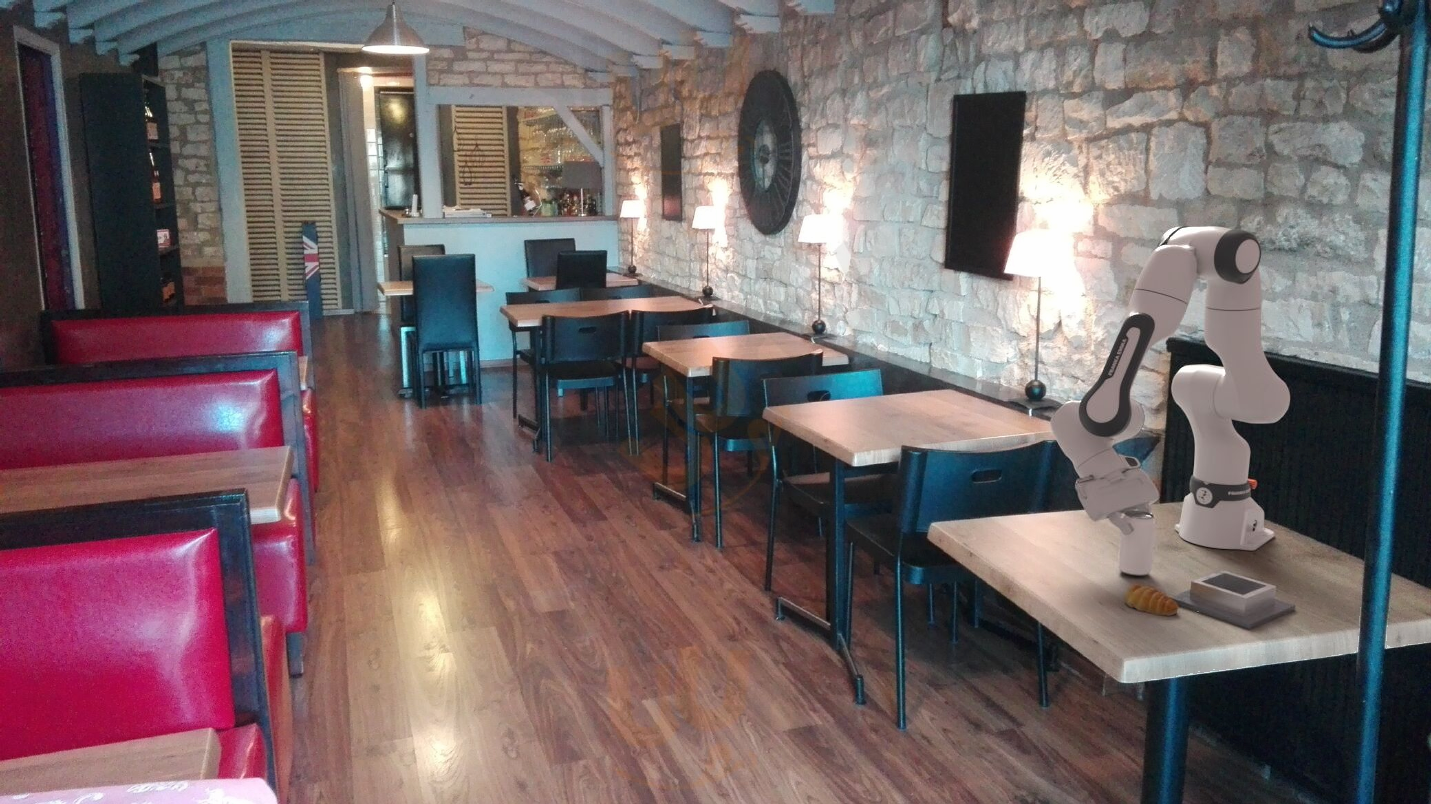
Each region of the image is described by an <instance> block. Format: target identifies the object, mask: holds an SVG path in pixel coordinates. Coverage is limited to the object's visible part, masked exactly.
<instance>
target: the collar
mask: <svg viewBox="0 0 1431 804" xmlns="http://www.w3.org/2000/svg"><path fill="white" fill-rule="evenodd" d="M1276 595H1277V586H1276V585H1273V584H1271V583H1268V582H1267V583H1266V582H1263V581H1261V580H1260V581H1259V580H1257V579H1254V578H1250V577H1246V576H1243V575H1241V574H1236V573H1233V572H1230V571H1227V570H1223V569H1221V570H1219V571H1215V572H1212V573H1210V574H1207V575H1204V576H1202V577H1199V578H1196V579H1193V580H1191V581H1190V588H1189V589H1188V590H1185V591H1182V592H1180V593H1177V594H1175V595H1171V596H1169V597H1170V598H1172V599H1173V601H1175V602H1176V603H1177V605H1178V606H1179V605H1180V607H1182V608H1184V607H1185V609H1187V608H1188V610H1190V609H1192V610H1191V611H1193V610H1194V612H1196V611H1199V612H1201V613H1200V614H1202V613H1204V614H1203V615H1205V614H1206V616H1208V615H1209V616H1208V617H1211V616H1212V618H1214V619H1217V620H1220V621H1223V622H1226V623H1229V624H1232V625H1235V626H1238V627H1242V628H1244V629H1247V630H1252V629H1255V628H1257V627H1259V626H1261V624H1262V625H1263V624H1266V623H1268V622H1270V620H1271V621H1273V620H1276V619H1277V618H1280V617H1282V615H1283V616H1284V614H1285V613H1287V614H1289V613H1288V612H1290V611H1292V612H1294V611H1295V610H1296V605H1295V604H1292V603H1289V602H1286V601H1283V600H1280V599H1277V598H1276ZM1293 610H1294V611H1293ZM1199 612H1198V613H1199ZM1290 613H1291V612H1290ZM1285 615H1286V614H1285ZM1275 618H1276V619H1275Z"/></svg>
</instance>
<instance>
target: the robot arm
mask: <svg viewBox="0 0 1431 804" xmlns="http://www.w3.org/2000/svg"><path fill="white" fill-rule="evenodd" d="M1261 258H1262V249H1261V244H1260V243H1259V240H1258V238H1257V237H1256V236H1255V234H1254V233H1252V232H1249V231H1247V230H1244V229H1240V228H1229V227H1222V226H1216V225H1215V226H1214V225H1206V226H1189V225H1181V226H1175V227H1172V228H1170V229H1168V230H1167V231H1166V232H1165V233H1163V235H1162V236H1161V238H1159V241H1158V243H1157V245H1156V248H1155V249H1154V250H1153V251H1152V252H1151V254H1150V255H1149V257H1148V259H1147V260H1146V262H1145V263H1144V266H1143V268H1142V270H1141V271H1140V274H1139V275H1138V278H1137V281H1136V282H1135V286H1134V288H1133V290H1132V292H1131V293H1132V294H1131V297H1130V299H1129V303H1128V306H1127V308H1126V312H1125V316H1124V319H1123V321H1122V324H1121V327H1120V330H1119V331H1118V334H1117V337H1116V338H1115V341H1114V344H1113V345H1112V348H1111V349H1110V350H1111V351H1110V352H1109V355H1108V357H1107V359H1106V362H1105V364H1104V366H1103V369H1102V371H1101V373H1100V375H1099V378H1098V379H1097V381H1096V382H1095V383H1094V384H1093V385H1092V387H1090V388H1089V390H1087V392H1086V393H1085V394H1084V396H1083V397H1082V399H1080V400H1075V399H1072V400H1069V401H1067V402H1065V403H1063V404H1062V405H1061V406H1059V407H1058V408H1057V409H1056V410H1055V411H1054V413H1053V414H1052V416H1051V418H1050V420H1049V426H1050V430H1051V432H1052V435H1053V437H1054V438H1055V441H1056V442H1057V443H1058V446H1059V447H1060V449H1061V451H1062V452H1063V453H1064V455H1065V456H1066V457H1067V458H1069V460H1070V461H1071V462H1072V464H1073V467H1074V469H1075V472H1076V473H1077V475H1078V476H1079V478H1077V479H1076V480H1075V486H1074V488H1075V490H1076V492H1077V497H1078V499H1079V501H1080V503H1081V506H1082V507H1083V509H1084V511H1085V513H1086V514H1087V516H1088V518H1089V519H1091V520H1092V521H1093V522H1094V523H1095V522H1096V523H1097V522H1099V521H1102V520H1107V519H1108V520H1109V522H1110V524H1112V525H1113V526H1115V527H1117V528H1118V529H1119V530H1120V532H1121V531H1122V533H1123V534H1124V535H1127V534H1130V533H1131V532H1133V531H1134V528H1133V527H1132V526H1131V524H1130V523H1127V522H1126V521H1124V520H1123V517H1122V515H1124V514H1125V512H1126V511H1131V510H1137V511H1145V512H1149V513H1151V514H1153V512H1152V507H1151V506H1152V505H1153V504H1154V503H1155V502H1157V501H1158V500H1159V499H1160V493H1159V490H1158V489H1157V487H1156V486H1155V484H1154V482H1153V481H1152V480H1151V477H1149V475H1148V474H1147V472H1145V471H1144V470H1143V469H1142V468H1140V467H1141V463H1140V461H1139V459H1138V458H1136V457H1133V456H1127V455H1124V454H1121V453H1117V452H1116V450H1115V449H1114V448H1113V446H1114V445H1117V444H1120V443H1122V442H1124V441H1127V440H1130V439H1132V438H1133V437H1135V436H1137V435H1138V434H1139V433H1140V431H1141V430H1142V428H1144V427H1143V426H1144V424H1145V420H1146V418H1145V417H1146V415H1145V411H1144V408H1143V407H1142V405H1141V404H1140V403H1139V402H1138V400H1136V399H1134V398H1133V397H1131V390H1132V388H1133V385H1134V383H1135V380H1136V377H1137V375H1138V373H1139V371H1140V368H1141V365H1143V364H1142V363H1143V361H1144V359H1145V357H1146V355H1147V354H1148V353H1149V350H1151V348H1153V347H1154V346H1155V345H1156V344H1158V343H1160V342H1162V341H1165V340H1167V339H1169V338H1170V337H1172V336H1173V335H1174V334H1175V333H1176V331H1177V330H1178V327H1179V326H1180V324H1181V323H1182V322H1183V319H1184V317H1185V314H1186V312H1187V308H1188V306H1189V304H1190V301H1191V297H1192V294H1193V292H1194V291H1193V290H1194V286H1195V283H1196V281H1197V280H1202V281H1203V280H1204V281H1205V280H1206V283H1207V285H1206V291H1205V299H1204V318H1203V319H1204V322H1203V340H1204V342H1205V344H1206V346H1207V348H1209V349H1211V350H1212V351H1213V352H1214V353H1215V354H1216V355H1217V356H1218V358H1220V361H1221V363H1222V365H1223V366H1218V365H1212V364H1204V363H1203V364H1189V365H1188V364H1186V365H1184V366H1183V367H1181V368H1180V369H1179V370H1178V371H1177V372H1176V374H1175V375H1174V376H1173V378H1172V381H1171V382H1172V383H1171V394H1172V398H1173V401H1174V402H1175V403H1176V405H1178V406H1179V408H1181V410H1182V412H1183V413H1184V414H1185V416H1186V418H1187V419H1188V421H1189V424H1190V427H1191V430H1192V434H1193V438H1194V465H1193V474H1192V475H1191V476H1190V479H1189V492H1190V493H1188V495H1187V494H1186V495H1185V497H1184V499H1183V503H1182V509H1181V515H1180V518H1179V519H1180V521H1179V523H1177V524H1175V525H1174V530H1175V531H1176V532H1178V535H1179V536H1180V538H1181V539H1183V540H1185V541H1187V542H1189V543H1192V544H1195V545H1198V546H1201V547H1202V546H1203V547H1208V548H1213V549H1225V550H1244V551H1255V550H1257V549H1258V548H1260V547H1262V546H1263V545H1264V544H1266V543H1267V542H1269V541H1270V540H1271V539H1273V538H1274V537H1275V532H1274V531H1273V530H1271V529H1269V528H1266V527H1264V525H1265V511H1264V510H1263V508H1262V507H1261V506H1260V505H1258V503H1257V502H1256V501H1255V500H1254V499H1253V498H1252V497H1251V496H1252V495H1251V494H1252V493H1251V490H1252V489H1253V490H1255V489H1256V487H1258V486H1257V485H1258V482H1257V480H1256V479H1250V478H1248V477H1249V470H1250V469H1249V468H1250V460H1251V459H1250V458H1251V448H1250V445H1249V443H1248V442H1247V440H1246V439H1245V438H1243V437H1242V436H1241V435H1240V434H1239V433H1238V432H1237V431H1236V428H1235V427H1234V425H1233V421H1232V420H1234V421H1239V422H1244V423H1248V424H1274V423H1276V422H1278V421H1280V420H1281V418H1283V417H1284V415H1285V414H1286V413H1287V411H1288V410H1289V407H1290V402H1291V395H1290V394H1291V393H1290V389H1289V388H1288V386H1287V383H1286V382H1284V380H1282V379H1281V378H1280V377H1279V376H1278V375H1277V374H1276V373H1275V371H1274V370H1273V369H1272V367H1271V365H1270V363H1269V362H1268V359H1267V357H1266V355H1265V352H1264V349H1263V345H1262V343H1263V342H1262V335H1261V334H1262V330H1261V328H1262V327H1261V325H1262V324H1261V323H1262V322H1261V320H1262V303H1263V301H1262V297H1263V296H1262V281H1261V274H1260V273H1261V272H1260V268H1259V267H1260V266H1259V265H1260V264H1261V263H1260V262H1261ZM1155 523H1156V524H1157V521H1156V520H1155Z"/></svg>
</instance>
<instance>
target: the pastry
mask: <svg viewBox="0 0 1431 804" xmlns="http://www.w3.org/2000/svg"><path fill="white" fill-rule="evenodd" d="M1170 597H1171V596H1168V595H1167V594H1166V593H1163V592H1161V591H1160V590H1159V589H1157V588H1152V587H1150V586H1147V585H1146V586H1142V585H1140V584H1138V583H1134V584H1132V585H1130V587H1129V588H1128V589H1127V591H1126V593H1125V596H1124V599H1123V602H1124V603H1125V604H1127V606H1128V607H1130V608H1135V609H1136V610H1137V611H1141V612H1143V611H1146V612H1145V613H1147V614H1151V613H1153V614H1152V615H1156V614H1158V615H1157V616H1167V617H1168V616H1169V617H1170V616H1173V615H1175V614H1177V612H1178V610H1179V608H1180V607H1179V605H1177V603H1176V602H1175V601H1173V599H1172V598H1170Z"/></svg>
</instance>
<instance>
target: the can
mask: <svg viewBox="0 0 1431 804" xmlns="http://www.w3.org/2000/svg"><path fill="white" fill-rule="evenodd" d="M1122 519H1123V520H1124V521H1126V522H1127V523H1130V524H1131V526H1132V527H1133V528H1134V531H1133V532H1131V533H1130V534H1127V535H1124V534H1123V533H1122V531H1121V530H1120V535H1119V536H1120V538H1119V548H1118V560H1117V561H1118V562H1117V563H1118V564H1117V568H1118V569H1119V571H1120V572H1122V573H1123V574H1127V575H1130V576H1140V577H1141V576H1147V575H1150V573H1151V572H1152V569H1153V558H1154V547H1155V538H1156V537H1155V536H1156V527H1157V526H1156V524H1157V522H1156V523H1155V521H1156V520H1155V514H1153V513H1152V514H1151V513H1149V512H1145V511H1138V510H1131V511H1126V512H1125V513H1124V516H1123V517H1122Z"/></svg>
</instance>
